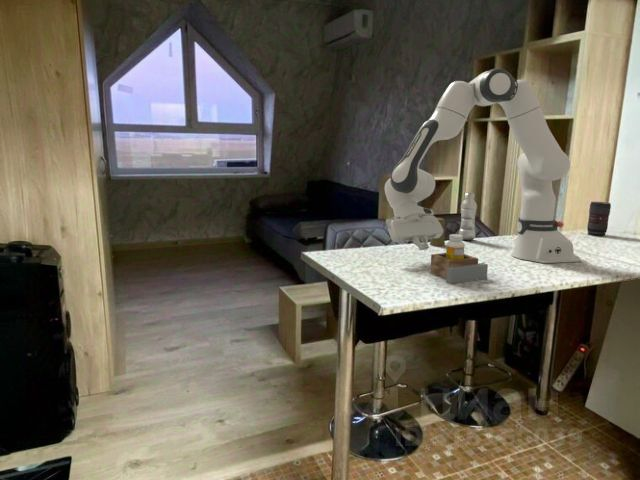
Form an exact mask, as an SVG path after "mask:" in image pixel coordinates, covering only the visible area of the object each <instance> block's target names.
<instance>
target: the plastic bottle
mask: <svg viewBox="0 0 640 480" xmlns="http://www.w3.org/2000/svg"><path fill="white" fill-rule="evenodd" d="M464 198H465V199H463V201H462V202H461V205H460V214H461V216H460V217H461V219H460V220H461V222H460V227H459V231H458V232H459V233H458V234H459V235H463V240H464V241H473V240H474V239H475V238H476V229H475V228H476V227H475V226H476V224H475V221H476V220H475V219H476V213H477V209H478V205H477V202H476V200H475V193H473V192H466V193H465V195H464ZM463 240H462V241H463Z"/></svg>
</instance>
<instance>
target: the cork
mask: <svg viewBox="0 0 640 480" xmlns="http://www.w3.org/2000/svg"><path fill="white" fill-rule="evenodd" d="M436 218H437V219H438V221H439V222H440V224H441V226H442V228H443V234H442V235H441V236H440V237H439V238H435V239H429V245H430V246H432V247H444V246H445V245H446V243H445V242H446V241H445V229H444V227H445V224H446V220H445V219H444V218H441V217H436Z"/></svg>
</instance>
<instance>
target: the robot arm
mask: <svg viewBox="0 0 640 480" xmlns="http://www.w3.org/2000/svg"><path fill="white" fill-rule="evenodd" d="M495 104H498V105H500V107H501V108H502V110H503V111H504V114H505V116H506V120H507V123H508V126H509V128H510V131H511V134H512V136H513V140H514V141H515V142H516V144H518V146H519V147H520V149H521V150H522V153H521V154H520V155H519V156H518V158H517V162H516V167H517V169H518V172H519V182H520V192H521V202H520V213H519V217H518V221H517V226H516V227H517V230H516V231H517V237H516V240H515V243H514V247H513V250H512V253H511V256H512V257H513V258H517V259H520V260H525V261H529V262H531V261H532V262H537V263H542V264H555V263H574V262H575V263H578V262H581V257H579V256H578V255H576V254H575V253H574V244H573V242H572V241H571V240H570V239H569V238H567V236H566V235H564V234H563V233H561V231H559V230H558V228H560V229H562V228H563V227H564V225H565V224H564V221H557V220H556V219H554V218H555V211H556V209H555V208H556V200H557V197H556V194H555V192H554V188H553V183H552V182H553V181H557V180H562V179H563V178H564V177H565V176H566V175H567V174H568V173H569V171H570V168H571V160H570V158H569V156H568V155H567V154H566V153H565V152H564V150H562V148H561V146H560V145H559V143H558V141H557V140H556V138H555V136H554V135H553V133H552V131H551V130H550V128H549V126H548V123H547V120H546V118H545V116H544V115H545V114H544V113H543V109H542V107H541V104H540V102H539V99H538V97H537V95H536V92H535V91H534V89H533V87H532V85H531V83H529V81H528V80H526V79H516V77H513V75H512V74H511V73H510V72H509V71H507V70H506V69H504V68H492V69H489V70H486V71H484V72H482V73H480V74H478V76H475V77H474V78H472V79H471V80H470V81H468V82H466V81H464V80H455V81H453V82H451V83H450V84H449V85H448V86H447V88H446V89H445V91H444V92H443V94H442V95H441V97H440V99H439V101H438V103H437V104H436V107H435V109H434V111H433V112H432V114H431V117H429V119H428V120H426V121H425V122H424V123H422V125H421V126H420V127H419V129H418V131H417V132H416V134H415V136H414V138H413V139H412V141H410V144H409V145H408V148H407V149H406V151H405V153H404V155H403V156H402V157H401V159H400V160H399V161H398V163H397V164H396V165H395V166H394V168H393V169H392V171H391V173H390V176H389V177H390V178H388V179H387V181H386V182H385V183H384V193H385V197H386V200H387V202H388V203H389V206H390V207H391V209H393V210H392V211H393V215H394V216H393V217H388V218H387V219H386V220H385V225H386V227H387V229H388V233H389V236H390V238H391V241H392V242H394V243H402V242H404V243H405V242H412V243H413V244H414V245H415V246H416V247H417V248H418V250H419V251H427V250H429V248H430V246H429V243H428V241H429V240H431V239H435V238H439V237H440V236H441V235H442V234H443V228H442V226H441V224H440V222H439V221H438V219H437V218H438V217H436V216H435V215H434V214H435V213H434V210H433V209H431V208H428V207H427V208H426V207H423V206H420V205H418V203H421V202H422V201H424V200H426V199H427V198H429V197H431V196H432V194H433V193H434V191H435V189H436V184H437V183H436V179H435V177H434V176H433V174H431V173H429V172H427V171H426V170H424V169H420V165H421V162H422V160H423V159H424V157H425V155H426V154H427V152H428V150H429V149H430V147H431V146H432V145H433V144H434V143H436V142H438V141H446V140H451V139H453V138H455V137H457V136H458V135H459V133H460V132H461V131H462V129H463V128H464V126H465V124H466V122H467V119H468V117H469V115H470V111H472V109H473V108H474V107H476V108H477V107H478V108H481V107H482V108H484V107H487V106H493V105H495Z"/></svg>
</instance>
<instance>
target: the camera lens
mask: <svg viewBox="0 0 640 480" xmlns="http://www.w3.org/2000/svg"><path fill="white" fill-rule="evenodd" d="M611 206H612V205H611V202H604V201H590V204H589V210H588V221H587V227H586V229H587V235H588V236H592V237H605V236H606V233H607V230H608V225H609V217H610V214H611V208H612V207H611Z"/></svg>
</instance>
